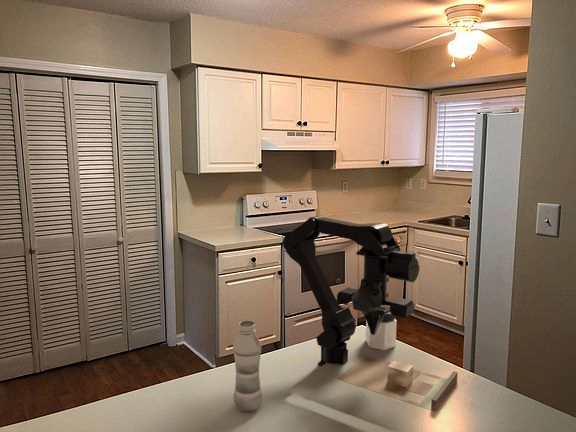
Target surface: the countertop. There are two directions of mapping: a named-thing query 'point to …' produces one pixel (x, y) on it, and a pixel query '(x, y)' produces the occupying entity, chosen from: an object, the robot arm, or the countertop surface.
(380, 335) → the jar
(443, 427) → the countertop surface
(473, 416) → the countertop surface
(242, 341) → the plastic bottle
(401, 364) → the block
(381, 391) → the board
